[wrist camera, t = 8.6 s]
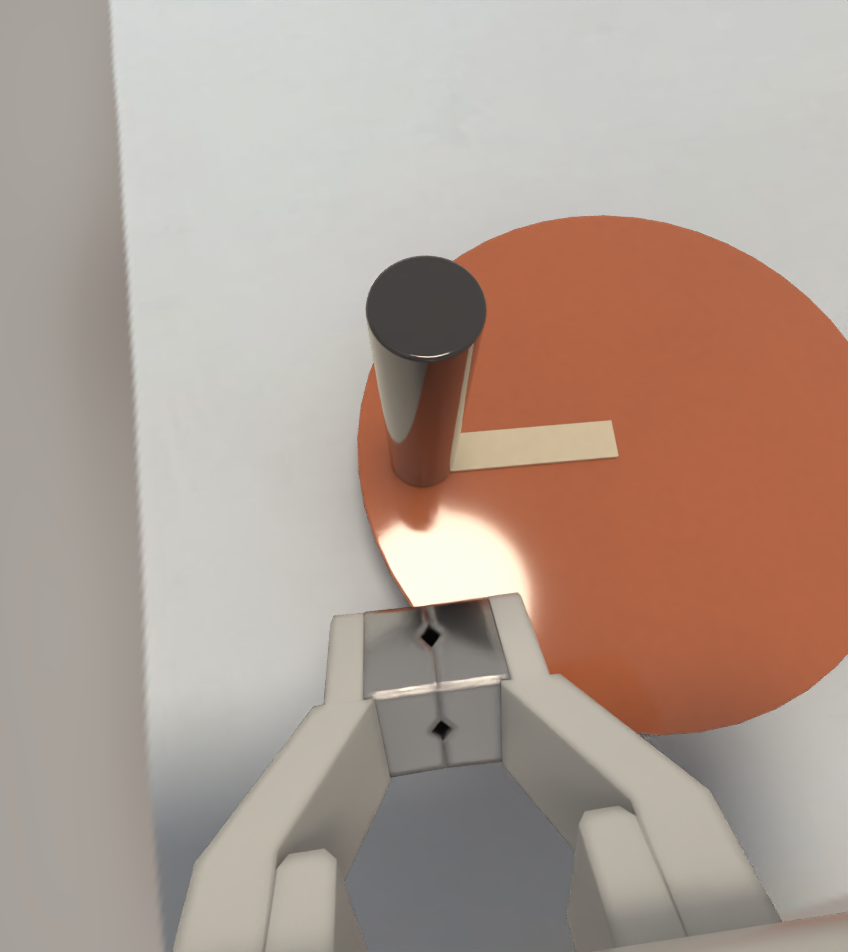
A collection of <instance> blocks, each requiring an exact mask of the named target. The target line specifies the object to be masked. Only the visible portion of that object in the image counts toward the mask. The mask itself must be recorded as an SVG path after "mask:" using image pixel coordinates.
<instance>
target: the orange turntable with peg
mask: <svg viewBox="0 0 848 952" xmlns="http://www.w3.org/2000/svg"><path fill="white" fill-rule="evenodd" d="M366 318H367V324H368V330H369V336H370V342H371V348H372V354H373V360H374V363H373V365H372V367H371V370H370V372H369V375H368V379H367V383H366V387H365V391H364V395H363V399H362V403H361V409H360V419H359V428H358V437H357V441H358V472H359V478H360V484H361V490H362V496H363V502H364V507H365V510H366V513H367V517H368V520H369V523H370V526H371V529H372V533H373V536H374V539H375V542H376V544H377V546H378V548H379V550H380V553H381V555H382V557H383V559H384V561H385V563H386V565H387V568H388V570H389V572H390V574H391V576H392V578H393V580H394V581H395V583H396V584H397V586H398V587H399V589H400V591H401V592H402V594H403V595H404V597H405V598H406V600H407V602H408V603H409V605H410V606H411V607H417V606H426V605H430V604H438V603H445V602H452V601H459V600H466V599H474V598H481V597H486V598H487V596H494V595H501V594H508V593H515V592H518V593H519V594H520V595H521V597H522V599H523V602H524V605H525V607H526V610H527V613H528V616H529V618H530V621H531V624H532V627H533V629H534V632H535V635H536V638H537V640H538V643H539V646H540V649H541V651H542V654H543V657H544V659H545V662H546V665H547V668H548V670H549V673H550V674H561V675H563V676H564V677H565V678H566V679H568V680H569V681H570V682H572V683H573V684H574V685H575V686H577V687H578V688H579V689H580V690H582V691H583V692H584V693H586V694H587V695H588V696H589V697H591V698H592V699H593V700H595V701H596V702H597V703H598V704H600V705H601V706H602V707H604V708H605V709H606V710H607V711H609V712H610V713H611V714H613V715H614V716H615V717H616V718H618V719H619V720H620V721H622V722H623V723H624V724H625V725H627V726H628V727H629V728H631V729H632V730H633V731H634V732H636V733H637V734H648V735H672V734H686V733H699V732H704V731H709V730H713V729H718V728H722V727H727V726H731V725H736V724H740V723H742V722H745V721H747V720H750V719H752V718H755V717H757V716H760V715H762V714H765V713H768V712H770V711H773V710H775V709H777V708H778V707H780V706H782V705H784V704H785V703H787V702H789V701H790V700H792V699H794V698H795V697H797V696H799V695H801V694H802V693H804V692H806V691H807V690H809V689H810V688H811V687H812V686H814V685H815V684H816V683H817V682H818V681H820V680H821V679H822V678H823V677H824V676H826V675H827V674H828V673H829V672H830V671H832V670H833V669H834V668H835V667H836V666H837V665H838V664H839V663H840V662H841V661H842V660H843V658H844V657H845V656H846V655H847V654H848V341H847V340H846V339H845V337H844V336H843V335H842V334H841V332H840V331H839V330H838V328H837V327H836V326H835V325H834V323H833V322H832V321H831V320H830V319H829V318H828V317H827V316H826V315H825V314H824V313H823V312H822V311H821V310H820V309H819V308H818V307H817V306H816V305H815V304H814V303H813V302H812V301H811V300H810V299H809V298H808V297H807V296H806V295H805V294H804V293H802V292H801V291H800V290H799V289H797V288H796V287H795V286H794V285H793V284H791V283H790V282H789V281H788V280H787V279H785V278H784V277H783V276H781V275H780V274H778V273H777V272H775V271H774V270H772V269H771V268H769V267H768V266H766V265H765V264H763V263H762V262H760V261H759V260H757V259H756V258H754V257H752V256H750V255H748V254H746V253H744V252H742V251H740V250H738V249H736V248H735V247H733V246H731V245H729V244H727V243H724V242H722V241H719V240H717V239H714V238H712V237H709V236H707V235H704V234H702V233H699V232H697V231H693V230H690V229H686V228H683V227H679V226H676V225H672V224H668V223H664V222H659V221H653V220H647V219H641V218H635V217H621V216H605V215H602V216H580V217H569V218H562V219H556V220H549V221H543V222H540V223H536V224H532V225H529V226H525V227H522V228H518V229H514V230H512V231H509V232H507V233H505V234H502V235H500V236H497V237H495V238H492V239H490V240H488V241H485V242H484V243H482V244H480V245H478V246H477V247H475V248H473V249H471V250H470V251H468V252H466V253H464V254H462V255H461V256H459V257H458V258H457V259H455V260H454V261H451V260H448V259H445V258H442V257H436V256H416V257H410V258H407V259H403V260H401V261H399V262H396V263H395V264H393V265H391V266H390V267H388V268H387V269H386V270H384V271H383V272H382V273H381V274H380V275H379V277H378V278H377V279H376V280H375V282H374V284H373V285H372V287H371V289H370V291H369V293H368V297H367V301H366Z"/></svg>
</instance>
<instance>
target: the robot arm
mask: <svg viewBox="0 0 848 952" xmlns="http://www.w3.org/2000/svg"><path fill="white" fill-rule="evenodd" d="M495 762H502V765H503V766H504V767H505V768H506V770H507V771H508V772H509V773H510V774H511V776H512V777H513V778H514V779H515V780H516V782H517V783H518V784H519V785H520V786H521V788H522V789H523V790H524V791H525V792H526V793H527V795H528V796H529V797H530V798H531V799H532V801H533V802H534V803H535V804H536V805H537V807H538V808H539V809H540V810H541V811H542V813H543V814H544V815H545V816H546V817H547V819H548V820H549V821H550V822H551V823H552V825H553V826H554V827H555V828H556V829H557V831H558V832H559V833H560V834H561V835H562V837H563V838H564V839H565V840H566V841H567V843H568V844H569V845H570V846H571V847H572V849H573V850H574V851H575V857H574V865H573V873H572V881H571V889H570V897H569V905H568V913H567V921H568V925H569V929H570V933H571V936H572V940H573V944H574V948H575V952H848V912H843V913H837V914H830V915H824V916H818V917H811V918H804V919H798V920H792V921H785V922H782V920H781V919H780V917H779V915H778V913H777V911H776V910H775V908H774V906H773V904H772V902H771V900H770V899H769V897H768V895H767V893H766V891H765V890H764V888H763V886H762V884H761V882H760V881H759V879H758V877H757V875H756V873H755V871H754V870H753V868H752V866H751V864H750V862H749V861H748V859H747V857H746V855H745V853H744V851H743V850H742V848H741V846H740V844H739V842H738V841H737V839H736V837H735V835H734V833H733V831H732V830H731V828H730V826H729V824H728V822H727V821H726V819H725V817H724V815H723V813H722V812H721V810H720V808H719V806H718V804H717V802H716V801H715V799H714V797H713V795H712V793H711V792H710V790H709V789H708V788H706V787H705V786H704V785H702V784H701V783H700V782H699V781H697V780H696V779H695V778H693V777H692V776H691V775H690V774H688V773H687V772H686V771H684V770H683V769H682V768H681V767H679V766H678V765H677V764H675V763H674V762H673V761H672V760H670V759H669V758H668V757H666V756H665V755H664V754H663V753H661V752H660V751H659V750H657V749H656V748H655V747H654V746H652V745H651V744H650V743H648V742H647V741H646V740H645V739H643V738H642V737H641V736H640V735H638V734H637V733H636V732H634V731H633V730H632V729H631V728H629V727H628V726H627V725H625V724H624V723H623V722H622V721H620V720H619V719H618V718H616V717H615V716H614V715H613V714H611V713H610V712H609V711H607V710H606V709H605V708H604V707H602V706H601V705H600V704H598V703H597V702H596V701H595V700H593V699H592V698H591V697H589V696H588V695H587V694H586V693H584V692H583V691H582V690H580V689H579V688H578V687H577V686H575V685H574V684H573V683H572V682H570V681H569V680H568V679H566V678H565V677H564V676H563V675H561V674H550V673H549V670H548V668H547V665H546V662H545V659H544V657H543V654H542V651H541V649H540V646H539V643H538V640H537V638H536V635H535V632H534V629H533V627H532V624H531V621H530V618H529V616H528V613H527V610H526V607H525V605H524V602H523V599H522V597H521V595H520V594H519V593H518V592H515V593H508V594H501V595H494V596H487V598H486V597H481V598H474V599H466V600H459V601H452V602H445V603H438V604H430V605H426V606H417V607H407V608H397V609H388V610H378V611H369V612H365V613H357V614H347V615H337V616H333V618H332V621H331V624H330V635H329V646H328V658H327V670H326V682H325V694H324V705H321V706H315V707H313V708H312V709H311V711H310V712H309V713H308V715H307V716H306V717H305V719H304V720H303V721H302V723H301V724H300V725H299V727H298V728H297V729H296V730H295V732H294V733H293V734H292V736H291V737H290V738H289V740H288V741H287V742H286V744H285V745H284V746H283V748H282V749H281V750H280V752H279V753H278V754H277V755H276V757H275V758H274V759H273V761H272V762H271V763H270V765H269V766H268V767H267V769H266V770H265V771H264V773H263V774H262V775H261V777H260V778H259V779H258V780H257V782H256V783H255V784H254V786H253V787H252V788H251V790H250V791H249V792H248V794H247V795H246V796H245V798H244V799H243V800H242V802H241V803H240V804H239V805H238V807H237V808H236V809H235V811H234V812H233V813H232V815H231V816H230V817H229V819H228V820H227V821H226V823H225V824H224V825H223V827H222V828H221V829H220V831H219V832H218V833H217V834H216V836H215V837H214V838H213V840H212V841H211V842H210V844H209V845H208V846H207V848H206V849H205V850H204V852H203V853H202V854H201V856H200V857H199V858H198V859H197V861H196V862H195V864H194V868H193V872H192V875H191V879H190V883H189V887H188V891H187V895H186V899H185V903H184V907H183V911H182V915H181V919H180V923H179V927H178V930H177V934H176V938H175V942H174V946H173V950H172V952H367V948H366V945H365V942H364V939H363V936H362V933H361V930H360V927H359V924H358V921H357V918H356V915H355V912H354V909H353V907H352V904H351V901H350V898H349V895H348V892H347V889H346V886H345V883H344V881H345V878H346V876H347V874H348V872H349V870H350V868H351V866H352V863H353V861H354V859H355V857H356V855H357V853H358V851H359V849H360V846H361V844H362V842H363V840H364V838H365V836H366V834H367V831H368V829H369V827H370V825H371V823H372V821H373V819H374V816H375V814H376V812H377V810H378V808H379V806H380V804H381V801H382V799H383V797H384V795H385V793H386V791H387V789H388V787H389V784H390V782H391V779H390V777H396V776H402V775H408V774H413V773H419V772H425V771H431V770H437V769H443V768H450V767H459V766H468V765H477V764H486V763H495Z"/></svg>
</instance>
